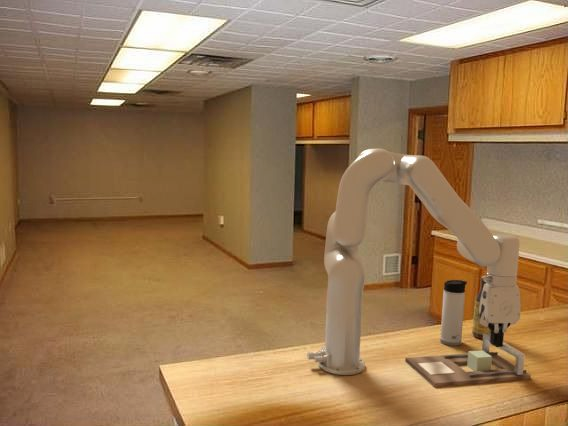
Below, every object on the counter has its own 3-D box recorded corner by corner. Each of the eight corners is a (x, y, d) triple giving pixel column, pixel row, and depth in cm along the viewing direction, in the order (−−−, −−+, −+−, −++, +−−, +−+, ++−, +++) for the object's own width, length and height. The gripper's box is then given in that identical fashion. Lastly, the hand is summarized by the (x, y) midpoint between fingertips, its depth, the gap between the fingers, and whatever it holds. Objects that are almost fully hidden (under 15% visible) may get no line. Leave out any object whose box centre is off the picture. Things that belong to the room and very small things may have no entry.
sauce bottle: (467, 334, 167) (472, 274, 165) (483, 332, 169) (488, 274, 166) (480, 341, 161) (485, 280, 158) (497, 339, 163) (502, 279, 160)
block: (476, 373, 137) (477, 357, 137) (467, 366, 142) (468, 351, 141) (490, 372, 138) (492, 356, 138) (481, 365, 143) (482, 350, 142)
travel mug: (458, 348, 154) (463, 283, 152) (437, 342, 158) (441, 280, 156) (465, 342, 159) (469, 280, 157) (444, 337, 163) (448, 276, 161)
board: (434, 387, 128) (434, 381, 128) (405, 361, 144) (405, 355, 143) (530, 378, 134) (530, 373, 134) (492, 355, 150) (493, 349, 150)
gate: (517, 374, 134) (519, 354, 133) (481, 351, 149) (483, 333, 148) (522, 374, 134) (524, 353, 133) (486, 351, 149) (488, 332, 148)
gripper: (485, 284, 133) (480, 352, 135) (534, 282, 136) (529, 348, 138) (468, 277, 140) (464, 341, 142) (516, 276, 143) (511, 338, 145)
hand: (496, 345), depth 140 cm, fingers closed
